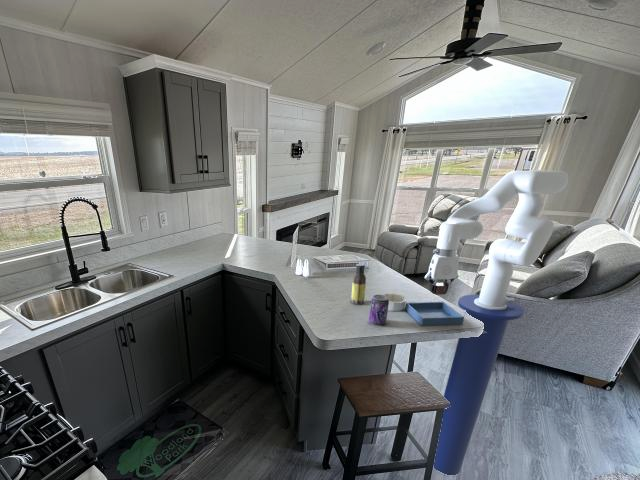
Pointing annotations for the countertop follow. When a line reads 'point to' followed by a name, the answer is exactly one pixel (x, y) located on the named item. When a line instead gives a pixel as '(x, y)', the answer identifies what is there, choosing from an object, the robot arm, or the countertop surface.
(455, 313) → the tub
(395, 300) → the white round bowl
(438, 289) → the block
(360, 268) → the sauce bottle
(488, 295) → the robot arm
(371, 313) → the beverage can
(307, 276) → the shaker set
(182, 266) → the countertop surface
